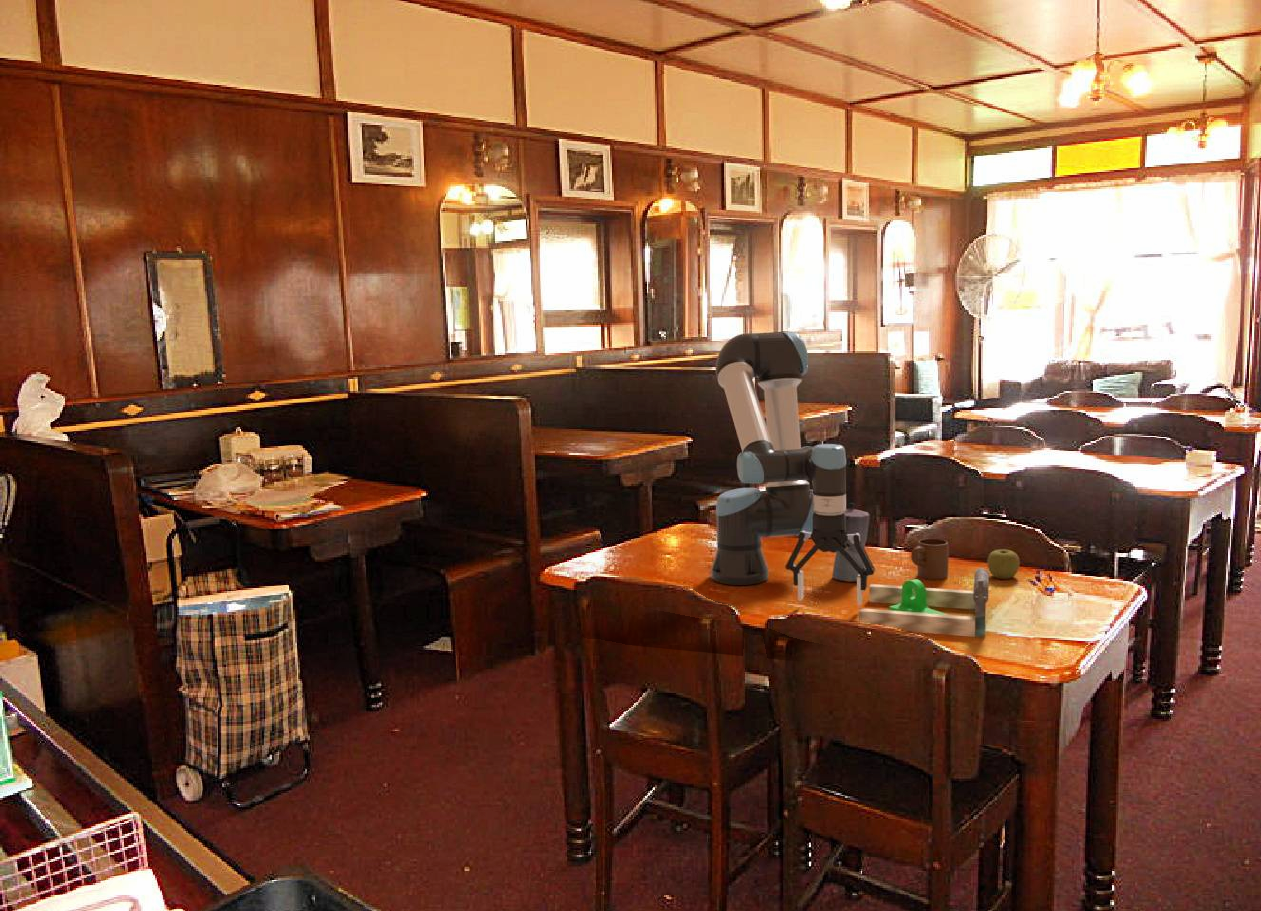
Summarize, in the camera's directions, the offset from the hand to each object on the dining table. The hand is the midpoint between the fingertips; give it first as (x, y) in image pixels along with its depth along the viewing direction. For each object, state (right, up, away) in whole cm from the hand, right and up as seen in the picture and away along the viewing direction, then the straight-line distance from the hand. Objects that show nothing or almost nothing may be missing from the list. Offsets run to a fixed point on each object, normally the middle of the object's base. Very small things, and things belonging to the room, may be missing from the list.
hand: (829, 601), depth 217 cm
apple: (+49, +2, +21) cm, 53 cm away
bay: (+20, -3, -8) cm, 21 cm away
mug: (+30, +2, +23) cm, 38 cm away
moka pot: (+11, +2, +25) cm, 27 cm away
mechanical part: (+19, -3, -7) cm, 20 cm away
